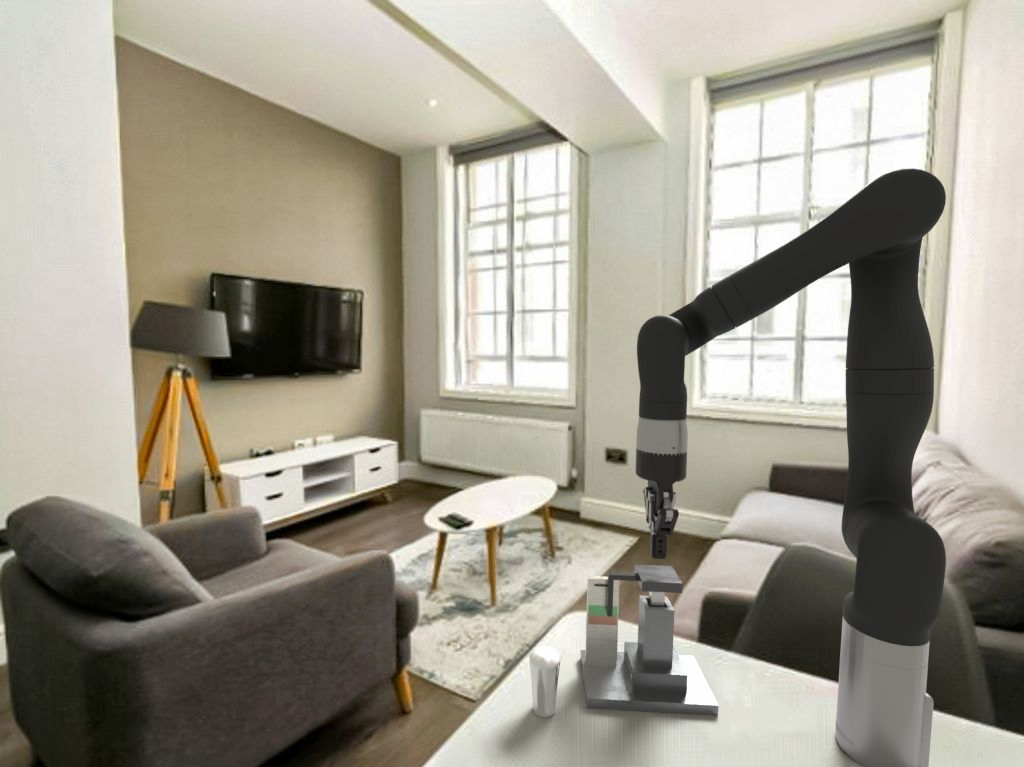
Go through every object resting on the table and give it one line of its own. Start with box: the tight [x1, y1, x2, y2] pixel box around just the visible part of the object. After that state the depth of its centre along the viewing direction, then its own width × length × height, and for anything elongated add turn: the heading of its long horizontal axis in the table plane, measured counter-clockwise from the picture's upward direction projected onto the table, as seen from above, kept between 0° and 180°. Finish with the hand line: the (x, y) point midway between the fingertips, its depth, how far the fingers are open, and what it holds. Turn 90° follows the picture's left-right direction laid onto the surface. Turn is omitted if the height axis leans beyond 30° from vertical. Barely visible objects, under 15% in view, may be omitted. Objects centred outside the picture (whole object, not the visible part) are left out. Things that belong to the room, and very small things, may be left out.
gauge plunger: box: [607, 564, 683, 617], centre depth 79 cm, size 10×6×12 cm, turn 87°
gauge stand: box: [580, 575, 719, 716], centre depth 79 cm, size 19×12×16 cm, turn 87°
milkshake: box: [529, 645, 567, 719], centre depth 73 cm, size 4×5×10 cm
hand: (657, 556), depth 78 cm, fingers closed
